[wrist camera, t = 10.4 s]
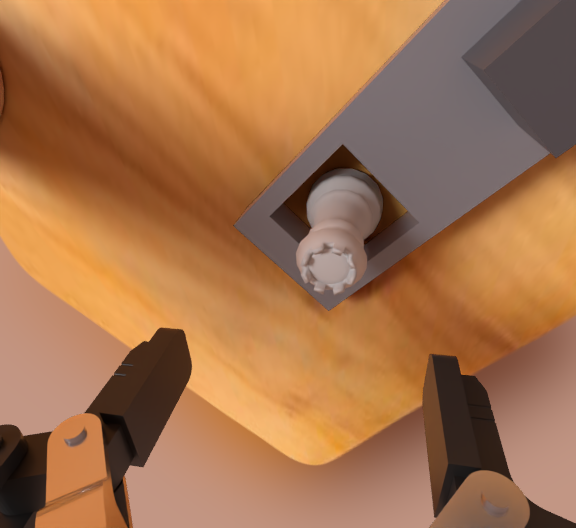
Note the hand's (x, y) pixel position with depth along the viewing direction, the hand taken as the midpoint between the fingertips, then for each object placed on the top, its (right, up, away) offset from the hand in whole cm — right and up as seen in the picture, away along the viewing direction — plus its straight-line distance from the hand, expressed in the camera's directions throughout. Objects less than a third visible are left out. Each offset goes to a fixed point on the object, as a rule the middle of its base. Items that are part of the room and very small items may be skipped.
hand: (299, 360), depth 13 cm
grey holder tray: (+7, +10, +8) cm, 15 cm away
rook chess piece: (+3, +7, +11) cm, 14 cm away
